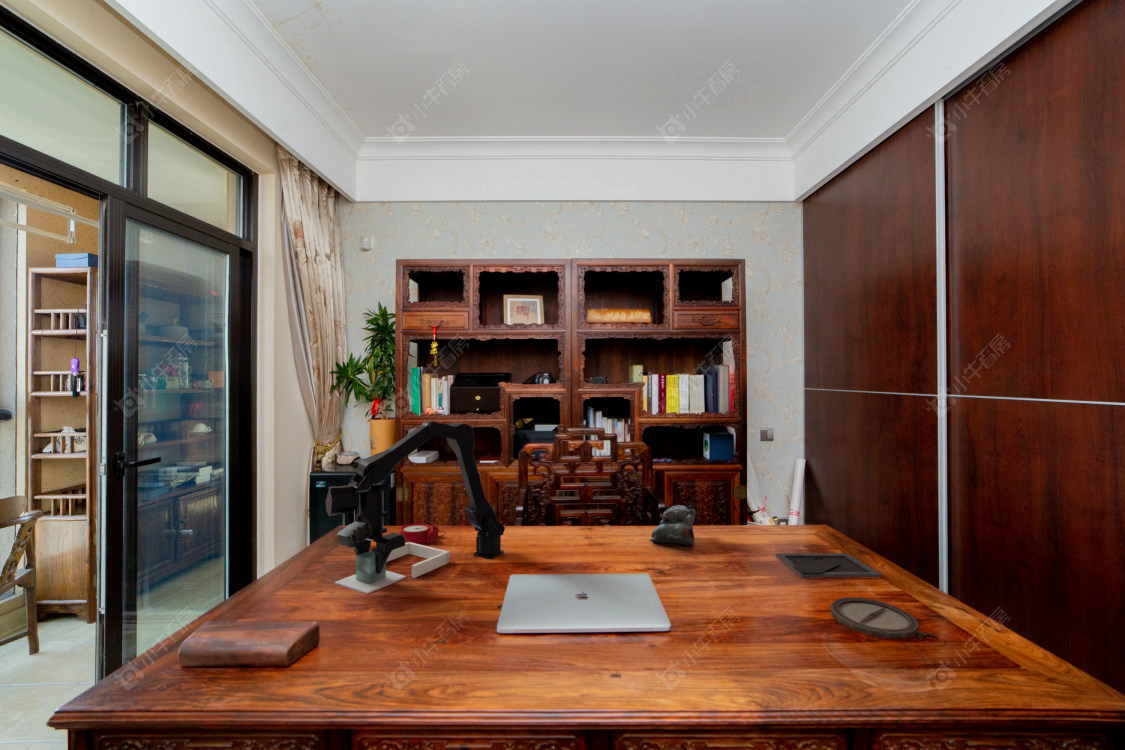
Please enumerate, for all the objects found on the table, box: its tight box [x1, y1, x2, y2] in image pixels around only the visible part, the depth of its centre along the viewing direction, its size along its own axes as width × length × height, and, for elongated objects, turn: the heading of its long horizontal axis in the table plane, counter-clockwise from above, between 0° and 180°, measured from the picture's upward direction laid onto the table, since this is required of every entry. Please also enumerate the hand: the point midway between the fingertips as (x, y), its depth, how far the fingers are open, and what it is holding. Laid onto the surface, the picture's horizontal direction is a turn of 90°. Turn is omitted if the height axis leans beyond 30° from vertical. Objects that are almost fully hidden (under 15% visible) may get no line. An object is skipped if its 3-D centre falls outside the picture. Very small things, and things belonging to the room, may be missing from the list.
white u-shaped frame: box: [386, 542, 451, 579], centre depth 144 cm, size 16×13×3 cm
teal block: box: [355, 550, 387, 584], centre depth 133 cm, size 5×5×6 cm
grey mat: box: [334, 569, 407, 595], centre depth 133 cm, size 12×12×1 cm
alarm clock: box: [398, 523, 447, 545], centre depth 166 cm, size 10×6×15 cm
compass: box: [830, 596, 939, 639], centre depth 112 cm, size 20×16×2 cm
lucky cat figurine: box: [649, 504, 697, 548], centre depth 164 cm, size 15×12×14 cm
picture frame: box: [775, 552, 882, 579], centre depth 145 cm, size 16×2×21 cm
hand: (371, 571), depth 133 cm, fingers open, 5 cm apart
